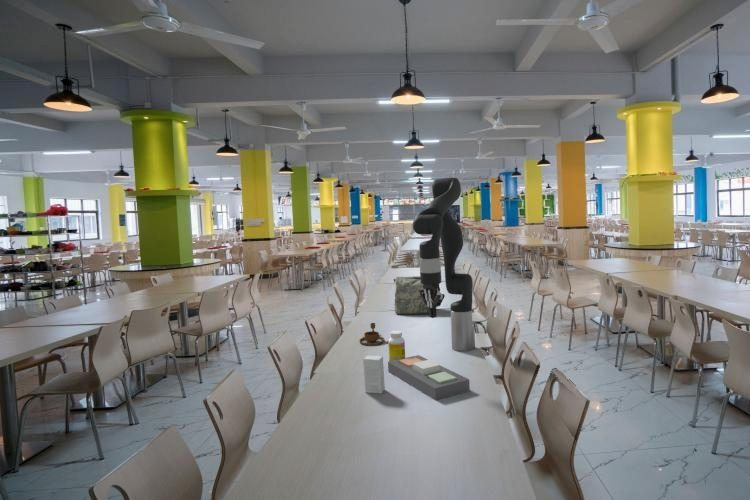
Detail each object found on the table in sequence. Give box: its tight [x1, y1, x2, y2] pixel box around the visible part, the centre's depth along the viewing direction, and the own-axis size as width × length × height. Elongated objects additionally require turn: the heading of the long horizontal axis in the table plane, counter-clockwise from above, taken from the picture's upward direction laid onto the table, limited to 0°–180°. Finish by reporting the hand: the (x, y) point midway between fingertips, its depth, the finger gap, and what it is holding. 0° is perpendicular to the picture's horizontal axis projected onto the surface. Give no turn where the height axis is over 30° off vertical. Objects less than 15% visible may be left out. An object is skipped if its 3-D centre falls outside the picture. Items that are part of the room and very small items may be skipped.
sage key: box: [428, 372, 456, 384], centre depth 161 cm, size 7×7×3 cm
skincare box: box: [362, 355, 386, 394], centre depth 162 cm, size 6×4×12 cm
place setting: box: [358, 322, 388, 346], centre depth 226 cm, size 18×20×6 cm
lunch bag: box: [393, 275, 429, 316], centre depth 281 cm, size 26×18×22 cm
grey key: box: [412, 359, 440, 375], centre depth 170 cm, size 7×7×3 cm
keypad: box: [387, 354, 471, 401], centre depth 170 cm, size 14×32×4 cm, turn 27°
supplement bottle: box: [387, 330, 406, 362], centre depth 190 cm, size 7×7×13 cm
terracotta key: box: [399, 356, 422, 367], centre depth 179 cm, size 7×7×3 cm
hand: (432, 317), depth 170 cm, fingers closed
